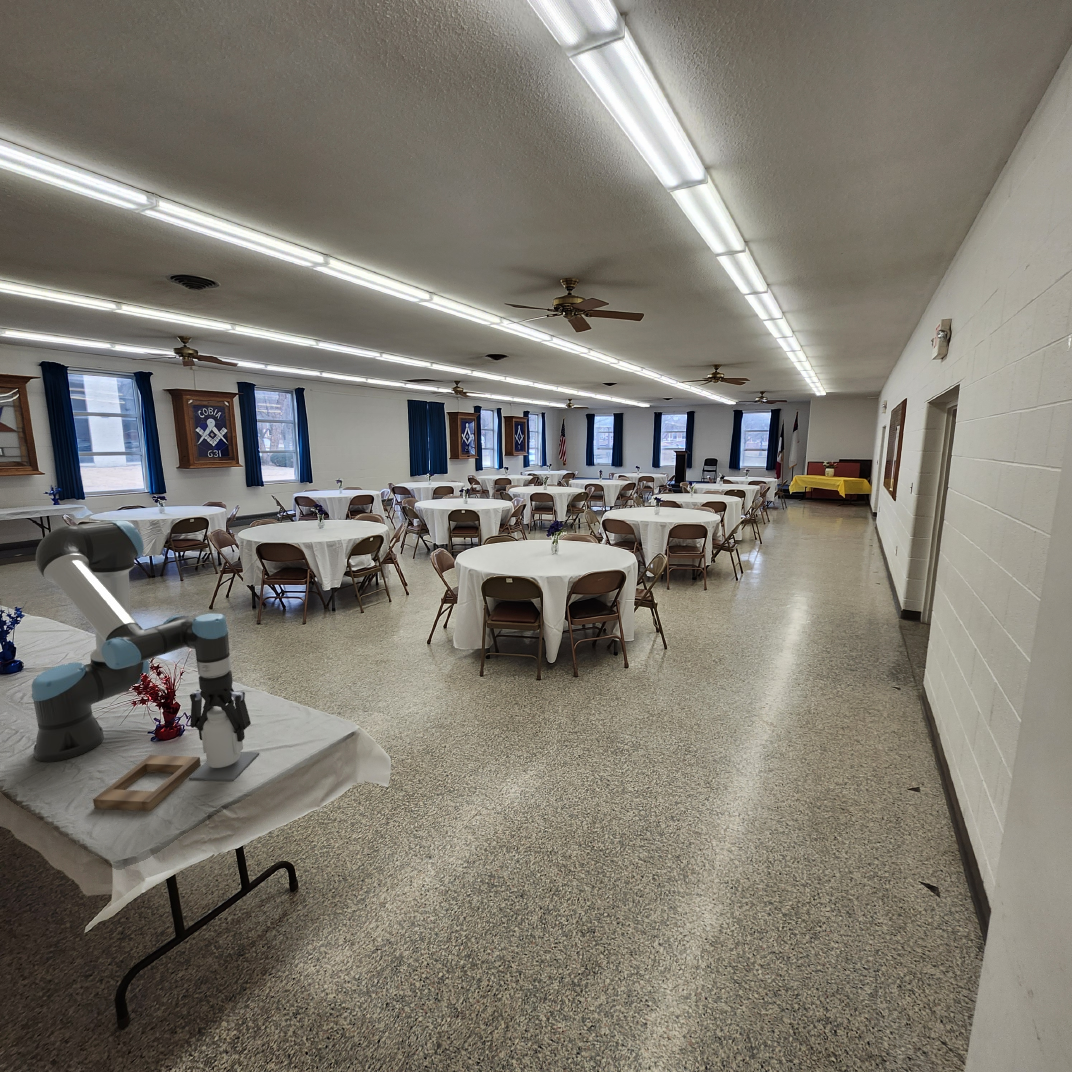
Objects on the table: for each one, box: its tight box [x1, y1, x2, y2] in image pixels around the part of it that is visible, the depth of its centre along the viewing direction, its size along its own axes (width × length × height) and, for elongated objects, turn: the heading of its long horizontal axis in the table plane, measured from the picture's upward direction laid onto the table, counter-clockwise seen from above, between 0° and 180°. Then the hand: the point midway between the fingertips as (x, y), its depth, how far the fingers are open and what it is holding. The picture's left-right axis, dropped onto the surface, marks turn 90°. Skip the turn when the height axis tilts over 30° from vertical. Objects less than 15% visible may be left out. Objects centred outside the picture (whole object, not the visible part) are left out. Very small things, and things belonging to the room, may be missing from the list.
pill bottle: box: [203, 706, 242, 768], centre depth 142 cm, size 8×8×15 cm
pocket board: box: [92, 754, 202, 812], centre depth 136 cm, size 14×18×2 cm
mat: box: [188, 751, 260, 782], centre depth 144 cm, size 12×12×1 cm
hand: (223, 750), depth 143 cm, fingers closed on pill bottle, 8 cm apart
